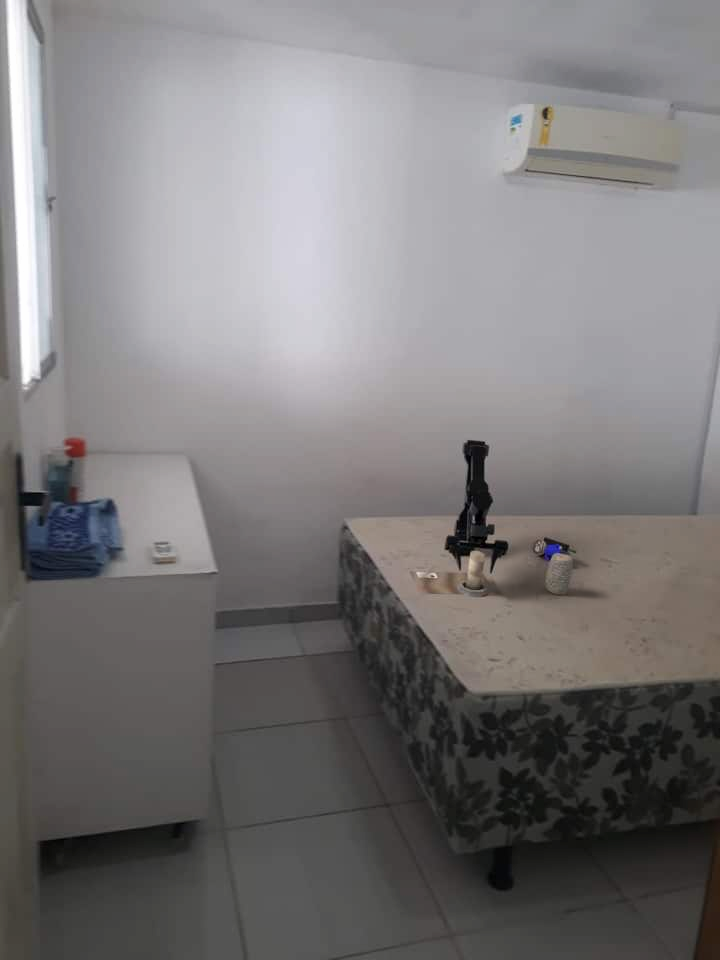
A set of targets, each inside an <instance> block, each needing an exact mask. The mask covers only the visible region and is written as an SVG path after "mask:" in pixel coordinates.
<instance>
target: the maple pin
mask: <svg viewBox="0 0 720 960" xmlns="http://www.w3.org/2000/svg"><path fill="white" fill-rule="evenodd" d="M485 559H486V554H485V552H483V551H479V550H474V551H472V552H471V553H470V556H469V559H468V567H467V572H466V573H467V579H466V586H465V588H467V589H470V590H480V585H481V579H482V573H483V571H484V565H485ZM483 574H484V573H483Z"/></svg>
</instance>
